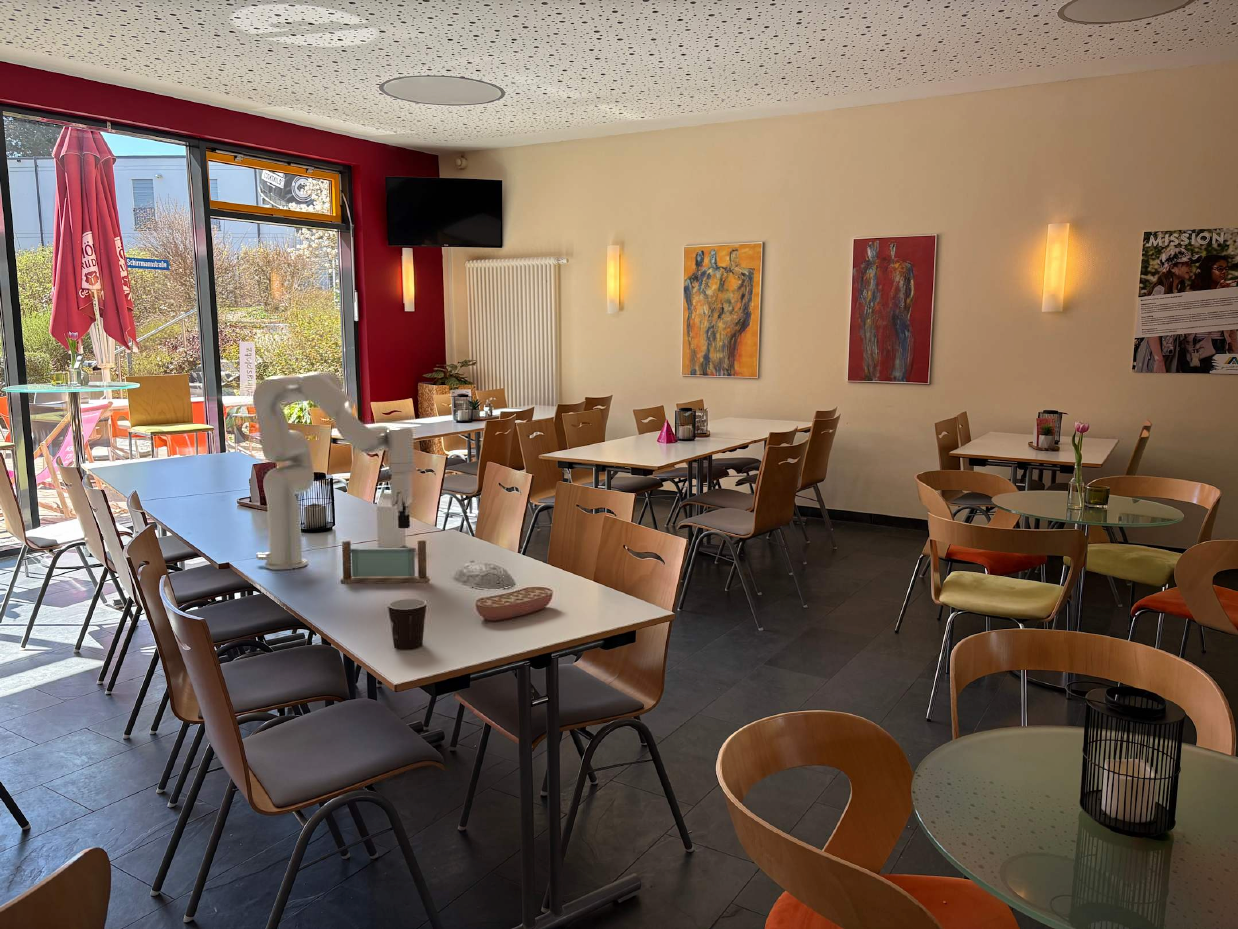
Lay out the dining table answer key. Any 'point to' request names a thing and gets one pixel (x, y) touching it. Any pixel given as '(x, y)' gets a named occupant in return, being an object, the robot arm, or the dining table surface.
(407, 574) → the gate leaf
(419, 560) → the gate frame
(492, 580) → the grey rock
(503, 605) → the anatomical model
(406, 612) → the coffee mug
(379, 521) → the milk carton
